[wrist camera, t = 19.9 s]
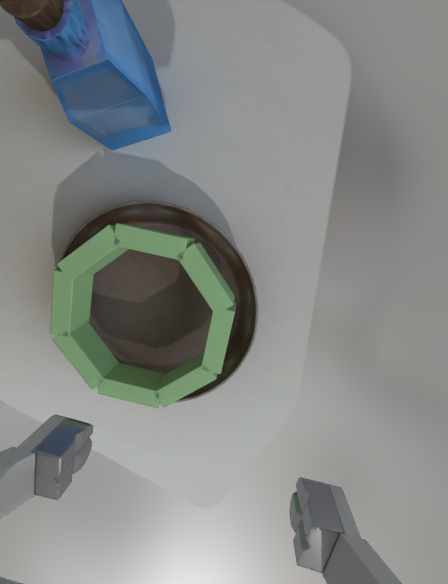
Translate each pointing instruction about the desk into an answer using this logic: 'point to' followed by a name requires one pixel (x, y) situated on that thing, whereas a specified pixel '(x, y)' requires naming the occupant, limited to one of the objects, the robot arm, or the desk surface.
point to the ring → (92, 350)
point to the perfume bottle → (96, 67)
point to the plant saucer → (166, 294)
